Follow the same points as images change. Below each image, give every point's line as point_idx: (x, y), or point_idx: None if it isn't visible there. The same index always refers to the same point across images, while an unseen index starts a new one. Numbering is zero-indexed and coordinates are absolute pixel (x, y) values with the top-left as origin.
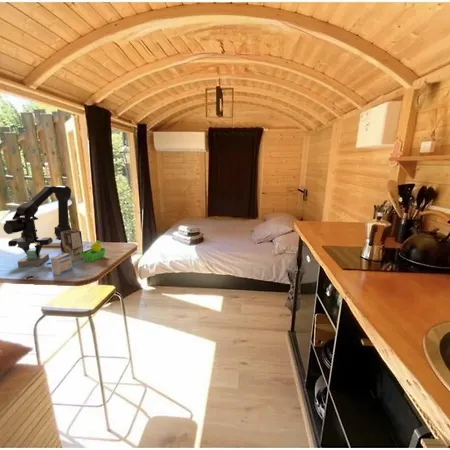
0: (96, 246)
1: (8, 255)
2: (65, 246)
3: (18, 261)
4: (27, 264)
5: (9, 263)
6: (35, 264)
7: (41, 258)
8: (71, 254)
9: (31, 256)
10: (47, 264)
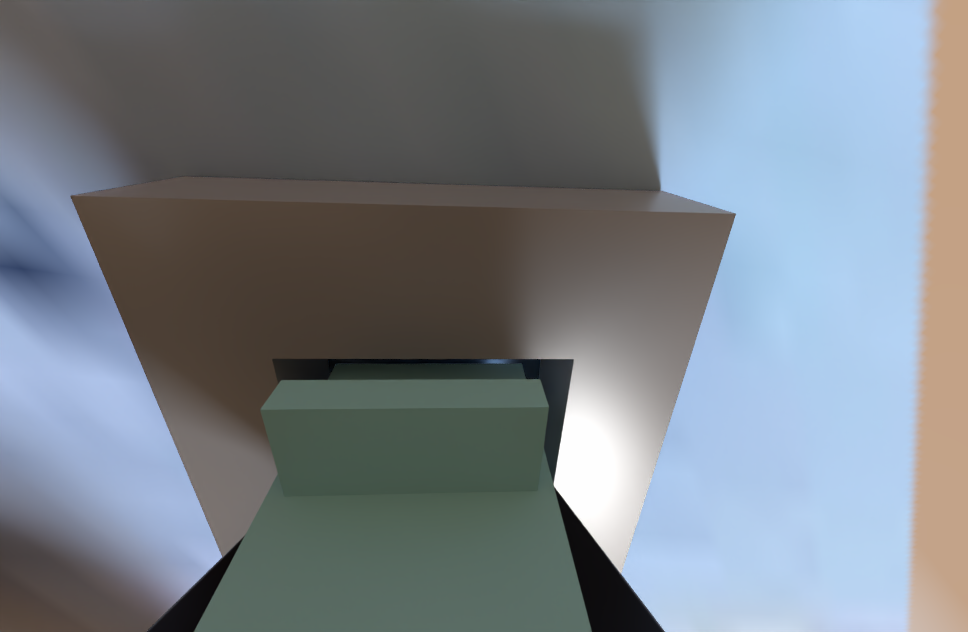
0: None
1: (866, 616)
2: None
3: (712, 244)
4: (462, 190)
5: (842, 374)
6: (268, 181)
7: (167, 389)
8: None
9: (347, 390)
10: (17, 202)
